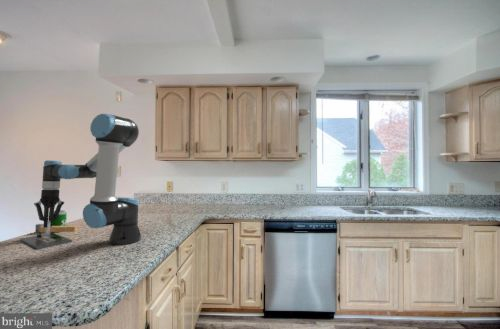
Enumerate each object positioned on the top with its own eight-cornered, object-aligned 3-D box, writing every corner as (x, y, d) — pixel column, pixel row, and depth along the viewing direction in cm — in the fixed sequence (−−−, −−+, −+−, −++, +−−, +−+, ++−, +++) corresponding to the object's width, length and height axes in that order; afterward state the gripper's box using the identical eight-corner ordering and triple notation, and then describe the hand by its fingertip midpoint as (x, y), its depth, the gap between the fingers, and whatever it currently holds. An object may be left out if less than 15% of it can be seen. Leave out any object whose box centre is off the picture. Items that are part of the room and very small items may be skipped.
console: (71, 241, 127) (72, 235, 127) (37, 249, 115) (38, 242, 115) (52, 234, 139) (52, 229, 139) (20, 240, 127) (20, 234, 127)
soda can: (57, 233, 142) (57, 212, 142) (47, 232, 144) (47, 212, 144) (69, 230, 150) (69, 210, 150) (59, 229, 151) (59, 209, 151)
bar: (77, 230, 136) (77, 223, 136) (74, 232, 132) (74, 224, 132) (38, 231, 133) (38, 223, 133) (33, 232, 130) (34, 225, 130)
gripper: (61, 188, 138) (57, 230, 137) (33, 188, 127) (29, 234, 126) (67, 189, 134) (64, 232, 133) (39, 189, 124) (35, 236, 122)
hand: (47, 233), depth 130 cm, fingers closed
